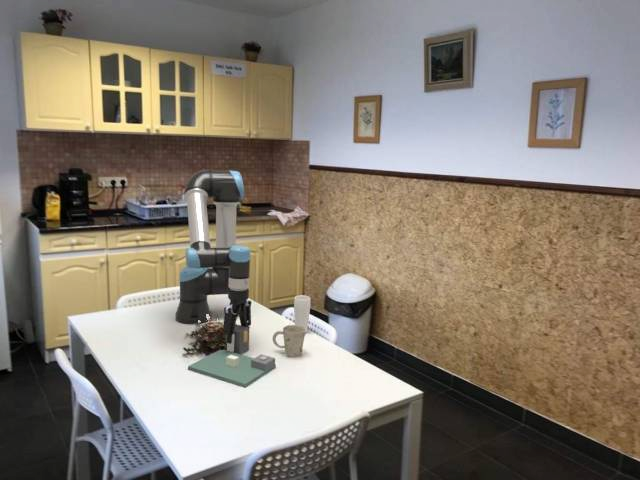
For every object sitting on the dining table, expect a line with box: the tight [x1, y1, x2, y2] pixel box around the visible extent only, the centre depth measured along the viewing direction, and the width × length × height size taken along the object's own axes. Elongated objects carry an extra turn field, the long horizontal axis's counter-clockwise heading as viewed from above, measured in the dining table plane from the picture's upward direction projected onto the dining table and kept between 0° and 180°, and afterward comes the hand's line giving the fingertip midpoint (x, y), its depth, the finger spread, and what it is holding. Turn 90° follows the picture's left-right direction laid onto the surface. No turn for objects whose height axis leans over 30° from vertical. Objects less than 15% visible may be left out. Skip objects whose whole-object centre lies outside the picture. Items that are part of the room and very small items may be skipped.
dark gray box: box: [225, 323, 250, 355], centre depth 193 cm, size 7×6×9 cm
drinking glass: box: [293, 294, 311, 334], centre depth 215 cm, size 7×7×15 cm
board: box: [187, 349, 277, 388], centre depth 178 cm, size 24×18×4 cm
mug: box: [271, 324, 306, 358], centre depth 193 cm, size 8×13×10 cm, turn 78°
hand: (236, 347), depth 193 cm, fingers open, 7 cm apart
